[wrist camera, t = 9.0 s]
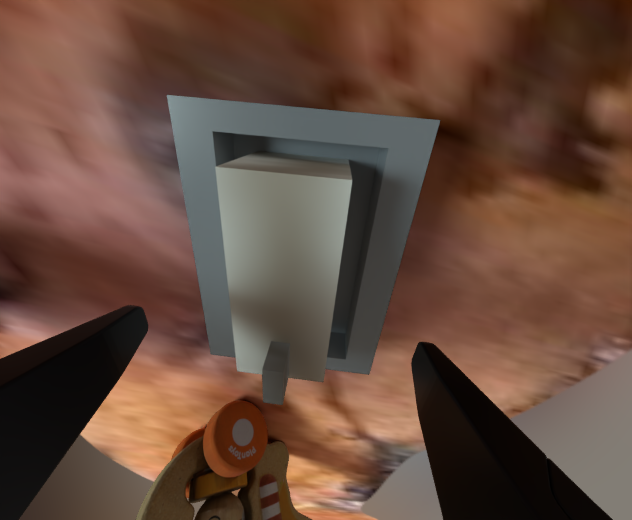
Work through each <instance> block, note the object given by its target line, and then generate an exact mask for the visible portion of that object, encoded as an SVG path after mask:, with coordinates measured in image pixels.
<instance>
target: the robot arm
mask: <svg viewBox="0 0 632 520" xmlns="http://www.w3.org/2000/svg"><path fill="white" fill-rule="evenodd" d="M147 331H148V322H147V319H146V316H145V313H144V310H143V308H142V307H139V306H132V305H128V306H125V307H122V308H120V309H118V310H115V311H113V312H110V313H108V314H106V315H103V316H101V317H99V318H96V319H94V320H91V321H89V322H87V323H84V324H82V325H80V326H77V327H75V328H72V329H70V330H68V331H65V332H63V333H61V334H58V335H56V336H53V337H51V338H49V339H46V340H44V341H42V342H39V343H37V344H34V345H32V346H30V347H27V348H25V349H23V350H20V351H18V352H15V353H13V354H11V355H8V356H6V357H4V358H1V359H0V520H19V519H20V517H21V516H22V514H23V513H24V511H25V510H26V509H27V507H28V506H29V504H30V503H31V502H32V500H33V499H34V497H35V496H36V495H37V493H38V492H39V491H40V489H41V488H42V486H43V485H44V484H45V482H46V481H47V479H48V478H49V477H50V475H51V474H52V472H53V471H54V470H55V468H56V467H57V465H58V464H59V463H60V461H61V460H62V458H63V457H64V456H65V454H66V453H67V451H68V450H69V448H70V447H71V446H72V444H73V443H74V442H75V440H76V438H77V437H78V436H79V435H80V433H81V432H82V430H83V429H84V428H85V426H86V425H87V423H88V422H89V421H90V419H91V418H92V416H93V415H94V414H95V412H96V411H97V410H98V408H99V407H100V405H101V404H102V403H103V401H104V400H105V398H106V397H107V396H108V394H109V393H110V391H111V390H112V389H113V387H114V386H115V384H116V383H117V381H118V380H119V379H120V377H121V376H122V374H123V372H124V371H125V369H126V367H127V366H128V364H129V362H130V361H131V359H132V357H133V356H134V354H135V352H136V350H137V349H138V347H139V345H140V344H141V342H142V340H143V338H144V337H145V335H146V333H147ZM411 365H412V374H413V381H414V388H415V396H416V403H417V410H418V416H419V421H420V425H421V430H422V434H423V438H424V442H425V446H426V450H427V454H428V458H429V462H430V467H431V470H432V475H433V479H434V483H435V487H436V491H437V495H438V499H439V503H440V507H441V512H442V516H443V520H613V519H612V518H610V516H609V515H607V514H606V513H605V512H604V511H603V510H602V509H601V508H600V507H599V506H598V505H597V504H595V503H594V502H593V501H592V500H591V499H590V498H589V497H588V496H587V495H586V494H585V493H584V492H583V491H582V490H581V489H580V488H579V487H578V486H577V485H576V484H575V483H574V482H573V481H572V480H571V479H570V478H568V476H567V475H565V473H564V472H563V471H562V470H561V469H560V468H558V466H556V464H555V463H554V462H553V461H551V460H550V459H549V458H547V457H546V455H545V454H544V453H543V452H542V451H541V450H540V449H539V448H538V447H537V446H536V445H535V444H534V443H533V442H532V441H531V440H530V439H529V438H528V437H527V436H526V435H525V434H524V433H523V432H522V431H521V430H520V429H519V428H518V427H517V426H516V425H515V424H514V423H513V422H512V421H511V420H510V419H509V418H508V417H507V416H506V415H505V414H504V413H503V412H502V411H501V410H500V409H499V408H498V407H497V406H496V405H495V404H494V403H493V402H492V401H491V400H490V399H489V398H488V397H487V396H486V395H485V394H484V393H483V392H482V391H481V390H480V389H479V388H478V387H477V386H476V385H475V384H474V383H473V382H472V381H471V380H470V379H469V378H468V377H467V376H466V375H465V374H464V373H463V372H462V371H461V370H460V369H459V368H458V367H457V366H456V365H455V364H454V363H453V362H452V361H451V360H450V359H449V358H448V357H447V356H446V355H445V354H444V353H443V352H442V351H441V350H440V349H439V348H438V347H437V346H436V345H434V344H433V343H428V342H419V343H418V345H417V348H416V350H415V353H414V355H413V358H412V363H411Z"/></svg>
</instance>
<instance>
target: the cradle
mask: <svg viewBox="0 0 632 520" xmlns="http://www.w3.org/2000/svg"><path fill="white" fill-rule="evenodd" d="M167 99H168V105H169V111H170V116H171V122H172V128H173V134H174V140H175V146H176V152H177V158H178V164H179V170H180V175H181V181H182V187H183V193H184V199H185V205H186V211H187V217H188V223H189V229H190V234H191V240H192V246H193V252H194V258H195V264H196V270H197V276H198V282H199V288H200V293H201V299H202V305H203V311H204V317H205V323H206V329H207V335H208V341H209V347H210V352H211V354H212V355H220V356H228V357H236V355H235V346H234V336H233V327H232V318H231V309H230V299H229V290H228V281H227V271H226V262H225V253H224V243H223V234H222V225H221V216H220V206H219V197H218V188H217V178H216V169H215V167H216V166H219V165H221V164H224V163H227V162H230V161H232V160H235V159H238V158H241V157H243V156H246V155H249V154H252V153H254V152H257V151H265V152H276V153H286V154H297V155H307V156H318V157H328V158H339V159H348V160H349V165H350V170H351V175H352V187H351V194H350V201H349V208H348V215H347V221H346V228H345V235H344V242H343V249H342V256H341V263H340V270H339V277H338V284H337V291H336V298H335V305H334V312H333V319H332V326H331V333H330V340H329V347H328V354H327V361H326V367H325V369H329V370H337V371H344V372H352V373H360V374H368V375H369V373H370V370H371V366H372V363H373V359H374V356H375V352H376V348H377V345H378V341H379V338H380V334H381V331H382V327H383V323H384V320H385V316H386V313H387V309H388V305H389V302H390V298H391V295H392V291H393V288H394V284H395V280H396V277H397V273H398V270H399V266H400V263H401V259H402V255H403V252H404V248H405V245H406V241H407V237H408V234H409V230H410V227H411V223H412V220H413V216H414V212H415V209H416V205H417V202H418V198H419V195H420V191H421V187H422V184H423V180H424V177H425V173H426V169H427V166H428V162H429V159H430V155H431V152H432V148H433V144H434V141H435V137H436V134H437V130H438V127H439V123H440V120H431V119H420V118H409V117H399V116H388V115H377V114H366V113H355V112H345V111H334V110H323V109H312V108H302V107H291V106H280V105H269V104H258V103H248V102H237V101H226V100H215V99H204V98H194V97H183V96H172V95H167Z"/></svg>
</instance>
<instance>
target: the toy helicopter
mask: <svg viewBox="0 0 632 520" xmlns="http://www.w3.org/2000/svg"><path fill="white" fill-rule="evenodd" d="M267 441H268V430H267V426H266V422H265V420H264V417H263V415H262V413H261V412H260V410H259V409H258V408H257V407H256V406H255V405H253V404H251V403H250V402H246V401H233V402H231V403H228V404H227V405H225V406H224V407H223V408H221V409H220V410H219V411H218V412H216V413H215V414H214V416H213V417H212V418H211V419H210V421H209V423H208V425H207V427H206V428H202V429H198V430H196V431H194V432H192V433H191V434H190V435H188V436H187V437H186V438H185V439H184V440H183V441H182V442H181V443H180V444H179V445H178V447H177V448H176V450H175V452H174V454H173V456H172V459H171V461H170V462H169V463H168V464H167V466H166V467H165V468H164V469H163V470H162V472H161V473H160V474H159V476H158V477H157V479H156V480H155V481H154V483H153V485H152V486H151V488H150V490H149V492H148V494H147V495H146V497H145V499H144V501H143V503H142V505H141V507H140V510H139V513H138V515H137V518H136V520H193V517H194V507H193V506H192V505H191V504H190V503H196V502H200V501H203V500H206V501H205V502H204V504H203V505H202V506H201V508H200V509H199V511H198V513H197V515H196V517H195V520H312V519H310V518H308V517H306V516H305V515H303V514H301V513H299V512H298V511H297V510H296V509H295V508H294V506H293V504H292V502H291V497H290V491H289V487H288V484H287V479H286V472H287V466H288V461H289V453H288V450H287V447H286V446H285V445H284V444H283V443H282V442H280V441H275V442H273V443H271V444H267ZM240 488H241V489H240ZM238 489H240V491H239V492H238V497H237V496H235V495H234V494H232V491H235V490H238ZM187 498H189V501H188V500H187Z"/></svg>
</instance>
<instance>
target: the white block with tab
mask: <svg viewBox="0 0 632 520" xmlns="http://www.w3.org/2000/svg"><path fill="white" fill-rule="evenodd" d="M215 169H216V178H217V188H218V197H219V206H220V216H221V225H222V234H223V243H224V253H225V262H226V271H227V281H228V290H229V299H230V309H231V318H232V327H233V336H234V346H235V355H236V364H237V371H240V372H248V373H255V374H262V382H263V402H264V403H272V404H279V405H283V401H284V396H285V391H286V386H287V381H288V378H294V379H302V380H310V381H318V382H323V381H324V374H325V367H326V361H327V354H328V347H329V340H330V333H331V326H332V319H333V312H334V305H335V298H336V291H337V284H338V277H339V270H340V263H341V256H342V249H343V242H344V235H345V228H346V221H347V215H348V208H349V201H350V194H351V187H352V175H351V170H350V165H349V160H348V159H339V158H328V157H318V156H307V155H297V154H286V153H276V152H265V151H257V152H254V153H252V154H249V155H246V156H243V157H241V158H238V159H235V160H232V161H230V162H227V163H224V164H221V165H219V166H216V167H215Z"/></svg>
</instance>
